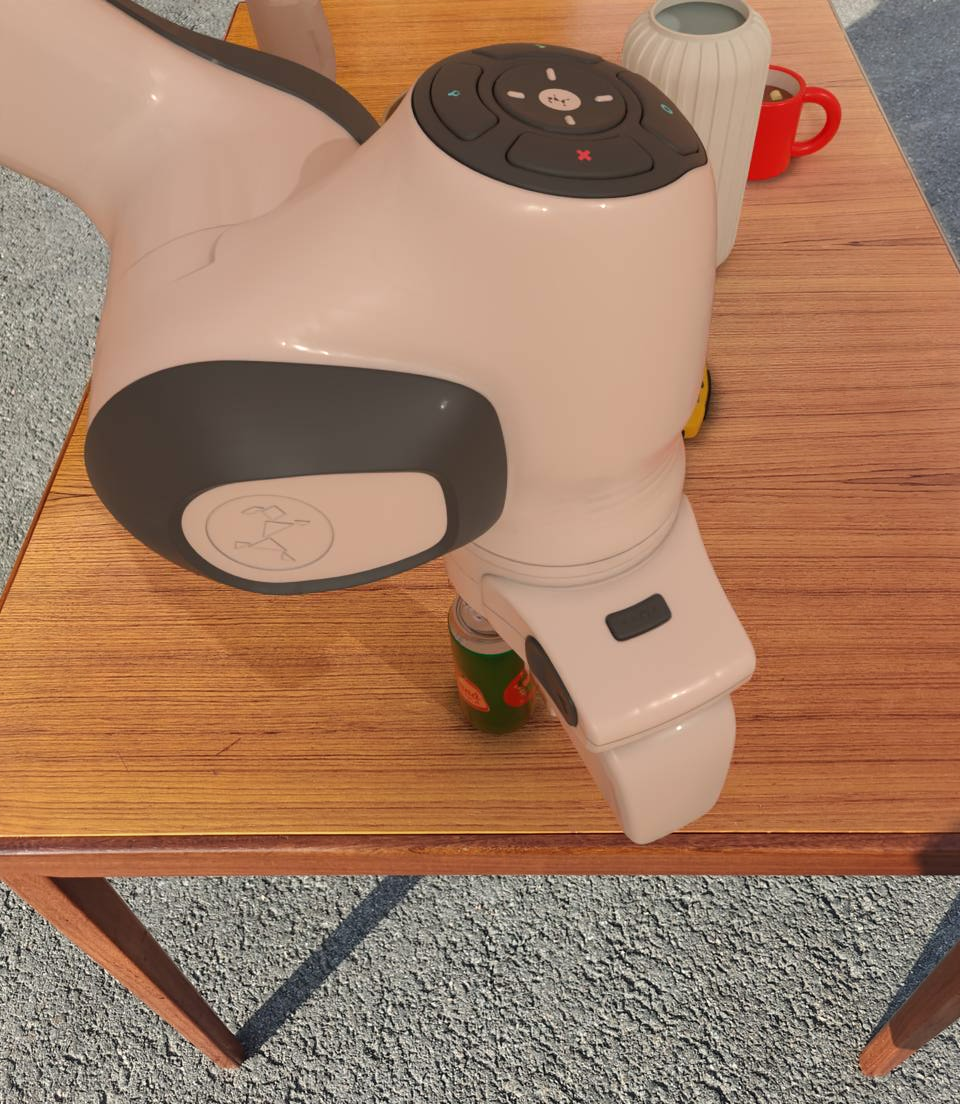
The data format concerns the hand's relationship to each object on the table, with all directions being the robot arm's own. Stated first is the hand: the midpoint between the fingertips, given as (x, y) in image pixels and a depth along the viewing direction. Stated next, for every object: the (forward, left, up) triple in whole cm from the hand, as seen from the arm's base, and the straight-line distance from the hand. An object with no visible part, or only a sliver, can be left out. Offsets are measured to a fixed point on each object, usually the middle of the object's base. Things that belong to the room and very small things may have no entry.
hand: (554, 688), depth 46 cm
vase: (+35, +43, -15) cm, 57 cm away
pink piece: (+14, +76, -15) cm, 78 cm away
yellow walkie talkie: (+24, +24, -15) cm, 37 cm away
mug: (+53, +52, -15) cm, 75 cm away
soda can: (0, +8, -15) cm, 17 cm away
